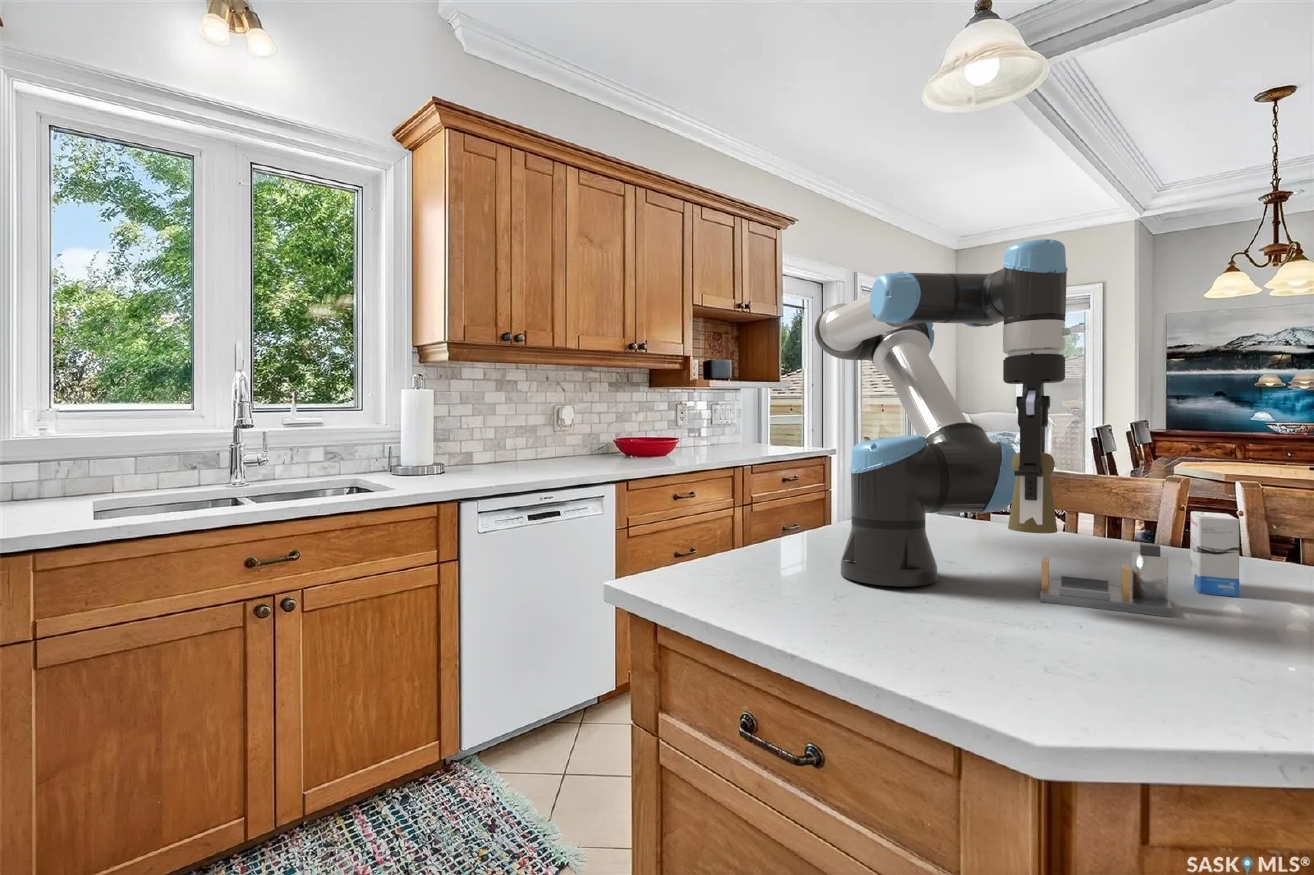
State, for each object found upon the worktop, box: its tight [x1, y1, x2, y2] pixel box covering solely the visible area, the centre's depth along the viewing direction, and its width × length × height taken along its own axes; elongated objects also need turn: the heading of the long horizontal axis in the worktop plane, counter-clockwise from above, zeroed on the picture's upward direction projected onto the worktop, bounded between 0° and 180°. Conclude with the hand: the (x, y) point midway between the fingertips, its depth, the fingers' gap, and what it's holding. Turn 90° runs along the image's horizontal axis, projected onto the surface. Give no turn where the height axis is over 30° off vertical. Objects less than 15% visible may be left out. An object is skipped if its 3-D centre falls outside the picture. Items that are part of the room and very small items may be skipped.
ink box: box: [1189, 510, 1240, 598], centre depth 101 cm, size 8×5×12 cm, turn 148°
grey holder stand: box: [1039, 542, 1173, 618], centre depth 95 cm, size 15×11×9 cm
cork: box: [1007, 452, 1058, 534], centre depth 91 cm, size 6×6×11 cm
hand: (1032, 521), depth 92 cm, fingers closed on cork, 4 cm apart
